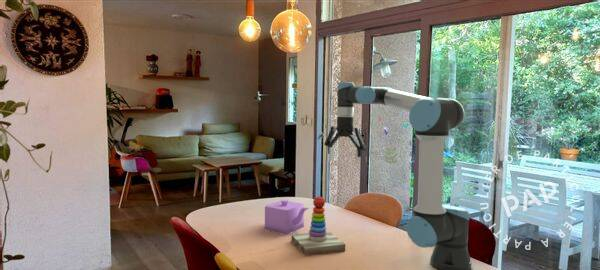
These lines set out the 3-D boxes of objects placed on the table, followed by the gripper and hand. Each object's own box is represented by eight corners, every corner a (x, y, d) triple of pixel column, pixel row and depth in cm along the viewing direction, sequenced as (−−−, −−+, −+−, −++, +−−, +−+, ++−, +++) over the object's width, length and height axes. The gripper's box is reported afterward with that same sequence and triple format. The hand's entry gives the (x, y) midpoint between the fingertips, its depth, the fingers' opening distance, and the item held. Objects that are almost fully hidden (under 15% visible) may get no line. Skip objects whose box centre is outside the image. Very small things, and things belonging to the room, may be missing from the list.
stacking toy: (325, 242, 181) (326, 199, 180) (307, 241, 183) (307, 198, 181) (328, 236, 189) (328, 195, 187) (310, 235, 191) (311, 194, 189)
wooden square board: (345, 250, 181) (345, 243, 180) (305, 255, 175) (305, 248, 174) (328, 237, 198) (328, 231, 197) (291, 241, 192) (291, 234, 191)
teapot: (299, 237, 197) (300, 207, 196) (256, 228, 210) (256, 200, 209) (316, 229, 210) (316, 201, 208) (274, 221, 223) (274, 194, 222)
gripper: (373, 117, 191) (372, 164, 193) (326, 115, 205) (325, 158, 207) (366, 117, 185) (365, 166, 186) (317, 115, 199) (316, 160, 201)
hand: (344, 162), depth 197 cm, fingers open, 13 cm apart
